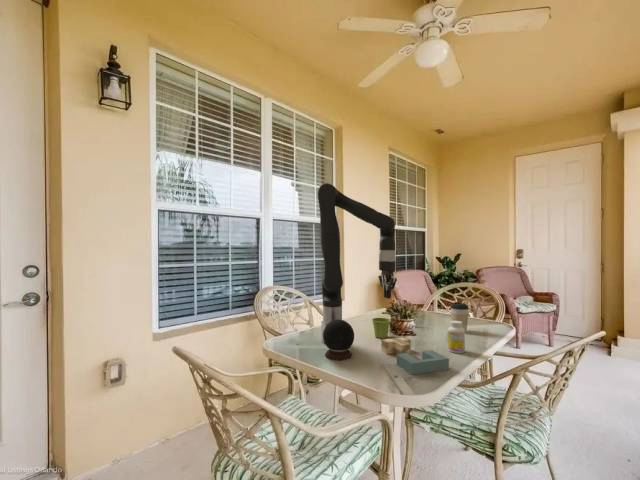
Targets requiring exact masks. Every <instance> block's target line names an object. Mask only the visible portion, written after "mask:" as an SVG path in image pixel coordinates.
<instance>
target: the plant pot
mask: <svg viewBox="0 0 640 480" xmlns="http://www.w3.org/2000/svg"><path fill="white" fill-rule="evenodd" d="M371 321H372V324H373V329H374V337H375V338H378V339H381V340H383V339H388V336H389V335H388V334H389V329H390V325H391V322H392V320H391V318H387V317H374V318H373V317H372V318H371Z"/></svg>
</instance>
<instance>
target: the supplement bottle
mask: <svg viewBox="0 0 640 480" xmlns="http://www.w3.org/2000/svg"><path fill="white" fill-rule="evenodd" d="M449 321H450V326H449V327H448V328H447V335H448V339H447V343H448V351H449V352H450V353H453V352H454V353H453V354H463V353H465V352H466V343H465V342H466V341H465V340H466V338H465V337H466V336H465V334H466V333H465V330H464V329H463V328H462V322H461V321H451V320H449Z"/></svg>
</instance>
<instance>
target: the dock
mask: <svg viewBox="0 0 640 480" xmlns="http://www.w3.org/2000/svg"><path fill="white" fill-rule="evenodd" d="M421 355H422V356H421V359H418V358H416V357H414V356H413V355H411V354H410V355H409V354H408V353H403V354H396V365H397V366H398V367H399V368H400V369H402V370H404V371H405V372H407V373H408V374H410V375H411V376H412V375H418V374H419V375H420V374H424V373H432V372H433V373H434V372H439V371H441V370H442V371H447V370H446V369H450V361H449V360H450V358H448V357H447V356H444V355H443V354H441V353H438V352H437V351H434V350H432V349H431V350H423V351H422V352H421Z"/></svg>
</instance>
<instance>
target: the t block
mask: <svg viewBox="0 0 640 480" xmlns="http://www.w3.org/2000/svg"><path fill="white" fill-rule="evenodd" d="M380 341H381V352H382V353H383V354H385V355H388V354H395V355H397V354H403V353H408V354H409V355H411V351H412V350H411V349H412V348H411V346H412V345H411V342H412V341H411V339H410V338H408V337H407V336H403V337H396V338H394V337H393V338H384V339H383V338H382V339H381V340H380Z"/></svg>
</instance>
